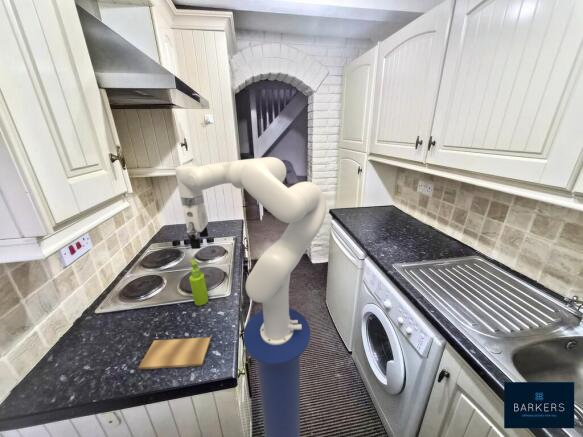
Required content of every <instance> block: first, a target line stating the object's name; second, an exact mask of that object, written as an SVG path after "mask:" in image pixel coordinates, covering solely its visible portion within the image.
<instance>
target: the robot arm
mask: <svg viewBox="0 0 583 437" xmlns="http://www.w3.org/2000/svg"><path fill="white" fill-rule="evenodd" d="M174 171H175V177H176V182H177V187H178V192H179V197H180V201H181V206H182V207H183V213H184V220H185V226H186V234H187V235H186V236H187V238H188V240H189V243H190V248H191V250H198V249H201V241H200V238H208V237H209V232H208V224H209V219H208V213H207V209H206V206H205V198H204V193H203V192H204V190H208V189H211V188H213V187H216V186H220V185H225V184H231V185H232V186H233V187H234V188H237V189H241V190H242V189H243V190H245V191H246V192H247V193H248V194H249V195H250V196H251V197H252V198H253V199H254V200H255V201H256V202H257V203H259V204H260V205H261V206H262V207H263V208H264V209H265V210H267V211H268V212H269V213H270V214H271V215H272V216H274V218H276V219H278V220H279V221H281V222H283V223H286V224H288V225H287V227H286V229H285V231H284V232H283V233H282V234H281V237H279V239H278V240H276V241H275V242H274V243H273V244H272V245H271V246H270V247H268V248H267V249H266V250H265V251H264V252H263V253H262V254H261V255H260V257H259V258H258V260H257V261H256V263H255V265H254V266H253V268H252V270H250V273H249V275H248V276H247V278H246V280H245V292H246V295H247V296H248V297H249V299H250V300H251V301H253V302H255V303H259V304H260V303H261V304H262V305H261V306H262V311H263V318H264V323H263V324H262V326H261V329H260V333H261V337H262V339H263V340H264V341H265V342H266V343H268V344H270V345H281V344H284V343H286V342H287V341H289V340H290V339H291V337H292V335H293V331H294V330H302V326H301V324H298V320H290V316H289V308H290V281H291V273H292V272H293V271H294V269H295V267H297V265H298V264H299V262H300V261H301V259H302V257H303V255H304V253H305V252H306V251H307V250H308V248H309V247H310V245H311V244H312V242H313V241H314V240H315V238H316V237H317V235H318V234H319V232H320V231H321V228H322V226H323V224H324V221H325V218H326V215H327V214H326V213H327V202H326V198H325V195H324V193H323V191H322V190H321V188H320V187H319V186H318V184H316V183H314V182H312V181H300V182H297V183H295V184H292V185H291V186H290V187H289V186H286V185H285V184H284V183H283V182H284V181H285V179H286V177H287V167H286V165H285V163H284V162H283V161H282V160H281V159H279V158H277V157H273V156H265V157H256V158H255V157H254V158H247V159H237V160H236V159H235V160H232V161H224V162H215V163H209V164H204V165H200V166H197V165H195V164H180V165H179V166H178V165H177V166H176V167H175V169H174ZM199 237H200V238H199ZM293 324H297V325H293Z"/></svg>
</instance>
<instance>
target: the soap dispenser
mask: <svg viewBox="0 0 583 437" xmlns="http://www.w3.org/2000/svg"><path fill="white" fill-rule="evenodd" d="M188 261H189V263H190V264H191V266H192V268H191V269H190V272H191V274H190V276H189V277H188V279H189V284H190V288H191V293H192V297H193V302H194V305H196V306H204V305H205V304H207V303H208V302H209V292H208V289H207V284H206V283H207V282H206V278H205V274H204V272H201V269H200V267H198V266H197V265H198V262H197V260H196V259H195V258H192V259H189V260H188Z"/></svg>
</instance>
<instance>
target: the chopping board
mask: <svg viewBox="0 0 583 437" xmlns="http://www.w3.org/2000/svg"><path fill="white" fill-rule="evenodd" d="M211 340H212V337H210V336H208V337H190V338H174V339H155V340H153V342H152V343H151V345H150V347H148V348H149V349H148V350H147V352H146V353H145V355H144V357H143V359H142V360H141V362H140V363H139V366H138V370H154V369H169V368H186V367H187V368H189V367H202V366H203V365H204V362H205V359H206V356H207V352H208V350H209V346H210V343H211Z"/></svg>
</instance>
